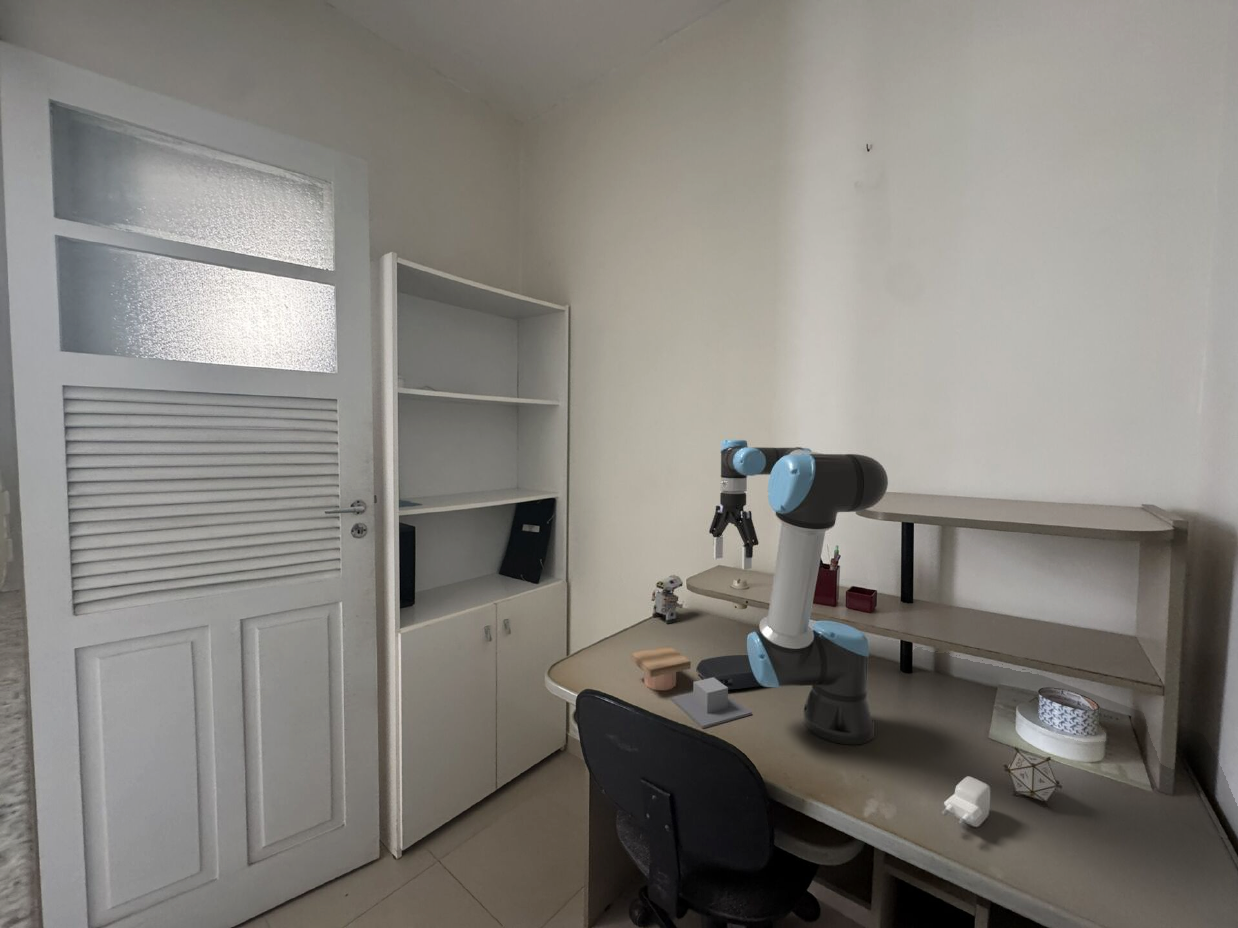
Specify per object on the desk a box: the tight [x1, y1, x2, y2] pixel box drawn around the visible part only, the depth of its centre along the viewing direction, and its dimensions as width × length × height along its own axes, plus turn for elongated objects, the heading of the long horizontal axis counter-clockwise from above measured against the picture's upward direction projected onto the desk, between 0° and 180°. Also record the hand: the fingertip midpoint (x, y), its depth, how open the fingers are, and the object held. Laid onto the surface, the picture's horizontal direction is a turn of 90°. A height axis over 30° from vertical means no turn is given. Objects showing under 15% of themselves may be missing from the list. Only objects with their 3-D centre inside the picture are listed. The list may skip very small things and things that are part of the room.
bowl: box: [643, 672, 677, 691], centre depth 139 cm, size 8×8×5 cm
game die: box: [1002, 746, 1064, 808], centre depth 96 cm, size 9×8×10 cm
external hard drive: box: [695, 653, 763, 690], centre depth 142 cm, size 13×19×4 cm
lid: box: [630, 645, 692, 678], centre depth 139 cm, size 11×12×2 cm
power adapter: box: [941, 775, 991, 828], centre depth 89 cm, size 11×5×6 cm, turn 126°
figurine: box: [651, 574, 684, 625], centre depth 187 cm, size 9×12×15 cm
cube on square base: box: [670, 677, 752, 729], centre depth 127 cm, size 14×14×6 cm
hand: (731, 563), depth 154 cm, fingers open, 13 cm apart
